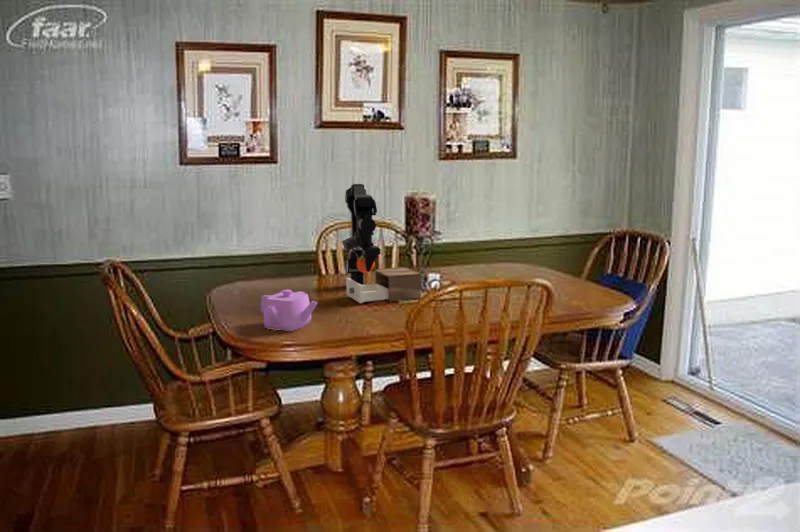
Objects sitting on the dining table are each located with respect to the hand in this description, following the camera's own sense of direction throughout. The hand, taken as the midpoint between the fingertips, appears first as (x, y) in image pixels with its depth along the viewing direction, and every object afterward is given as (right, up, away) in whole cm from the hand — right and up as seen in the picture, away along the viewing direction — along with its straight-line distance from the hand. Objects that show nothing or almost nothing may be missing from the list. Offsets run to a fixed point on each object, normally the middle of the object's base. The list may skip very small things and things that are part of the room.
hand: (364, 269), depth 276 cm
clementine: (0, -2, 0) cm, 2 cm away
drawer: (+1, -11, +2) cm, 11 cm away
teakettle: (-24, -19, -33) cm, 45 cm away
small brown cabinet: (+13, -11, +8) cm, 18 cm away
